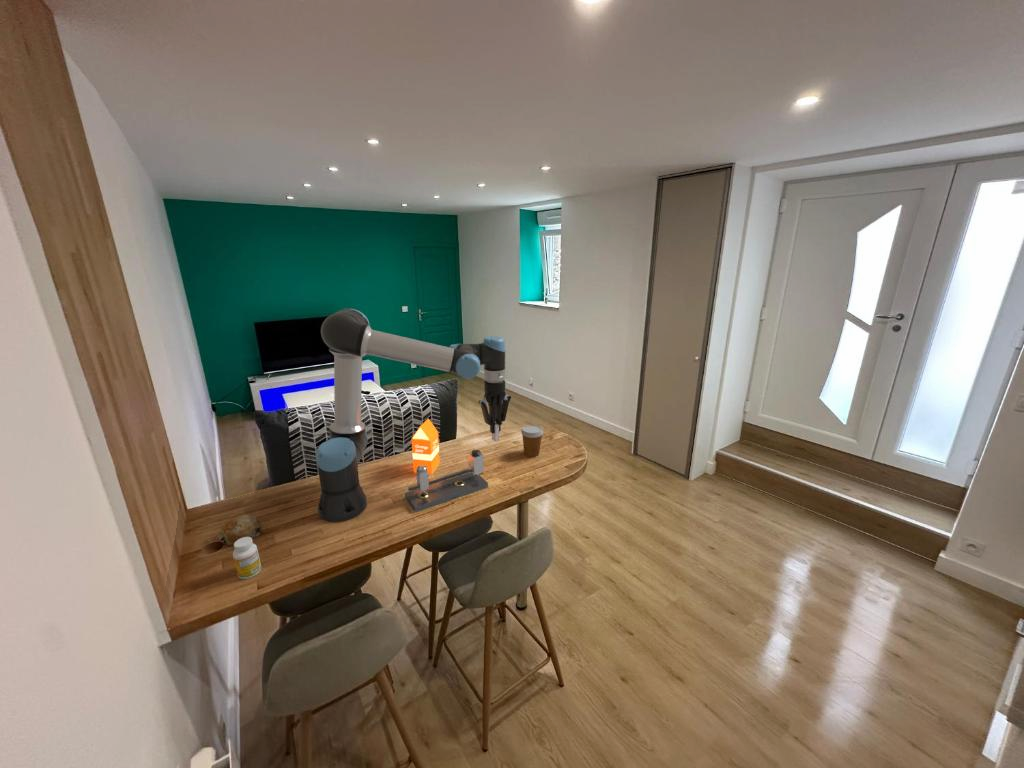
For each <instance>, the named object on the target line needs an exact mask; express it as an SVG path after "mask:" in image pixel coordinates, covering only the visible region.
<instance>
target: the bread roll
mask: <svg viewBox="0 0 1024 768" xmlns="http://www.w3.org/2000/svg"><path fill="white" fill-rule="evenodd" d="M261 528H262V523H261V521H260V519H259V518H258V517H256V516H253V515H250V514H248V513H247V514H242V515H238V516H236V517H234V518H232V519H229V520H228V521H226V523H225V524H224V525H223V527H222V528H221V529H220V531H219V535H218V539H219V540H220V541H221V542H222V543H223V544H225V545H227V546H234V543H235V542H236V541H237V540H239V539H240V538H243V537H251V538H252V540H254V539H255V538H258V537H259V536H260V535H261Z"/></svg>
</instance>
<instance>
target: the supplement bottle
mask: <svg viewBox="0 0 1024 768" xmlns="http://www.w3.org/2000/svg"><path fill="white" fill-rule="evenodd" d="M253 541H254V540H253V539H252V538H251V537H243V538H240V539H239V540H237V541H236V542H235V543H234V545H233V548H234V550H233V552H232V559H233V562H234V567H235V571H236V575H237V577H238V578H239V579H241V580H247V579H250V578H253V577H255V576H256V575H258V573H260V571H261V570H262V564H261V559H260V554H259V550H258V547H257V544H256V543H254V542H253Z"/></svg>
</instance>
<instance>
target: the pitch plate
mask: <svg viewBox="0 0 1024 768" xmlns="http://www.w3.org/2000/svg"><path fill="white" fill-rule="evenodd" d="M488 488H489V483H488V481H487V480H486V479H484V477H482V476H481V475H480V473H479V474H478V476H475V475H474V474H473V473H472V472H470V471H469V467H467V468H465V469H462V470H457V471H456V472H452V473H449V474H445V475H442V476H439V477H436V478H433V479H430V480H429V474H428V470H427V466H425V465H420V466H418V467H417V469H416V484H413V485H410V486H408V487H407V490H408V491H407V492H404V500H406V502H407V503H408V504H409V506H410V507H411V508H412V510H413V511H414V513H418V512H421V511H425V510H426V509H427V510H428V509H430V508H433V507H436V506H439V505H441V504H444V503H447V502H451V501H452V500H456V499H459V498H462V497H465V496H468V495H470V494H473V493H476V492H479V491H481V490H482V491H483V490H484V489H485V490H486V489H488Z"/></svg>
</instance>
